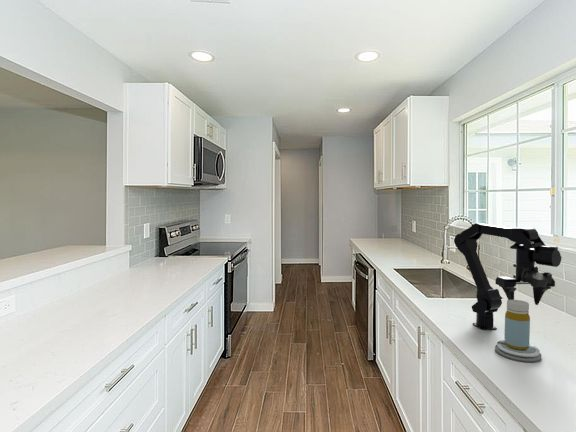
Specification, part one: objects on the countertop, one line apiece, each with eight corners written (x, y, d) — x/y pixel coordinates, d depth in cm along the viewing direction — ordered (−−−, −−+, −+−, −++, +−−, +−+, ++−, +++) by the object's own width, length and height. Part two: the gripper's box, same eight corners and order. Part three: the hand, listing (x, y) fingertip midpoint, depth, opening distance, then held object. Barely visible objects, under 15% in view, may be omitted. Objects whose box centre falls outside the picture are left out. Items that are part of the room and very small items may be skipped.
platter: (489, 343, 125) (489, 340, 125) (522, 342, 126) (522, 339, 126) (512, 358, 113) (512, 355, 113) (548, 357, 114) (549, 354, 114)
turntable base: (486, 345, 126) (486, 326, 126) (522, 345, 127) (522, 325, 127) (511, 363, 113) (512, 341, 113) (551, 362, 114) (552, 340, 113)
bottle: (532, 352, 116) (534, 306, 115) (508, 349, 117) (509, 304, 117) (524, 343, 122) (525, 300, 122) (501, 341, 124) (502, 298, 123)
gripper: (515, 266, 121) (514, 312, 122) (568, 266, 122) (567, 311, 123) (494, 261, 133) (494, 303, 133) (543, 260, 133) (542, 302, 134)
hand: (524, 305), depth 131 cm, fingers open, 9 cm apart
